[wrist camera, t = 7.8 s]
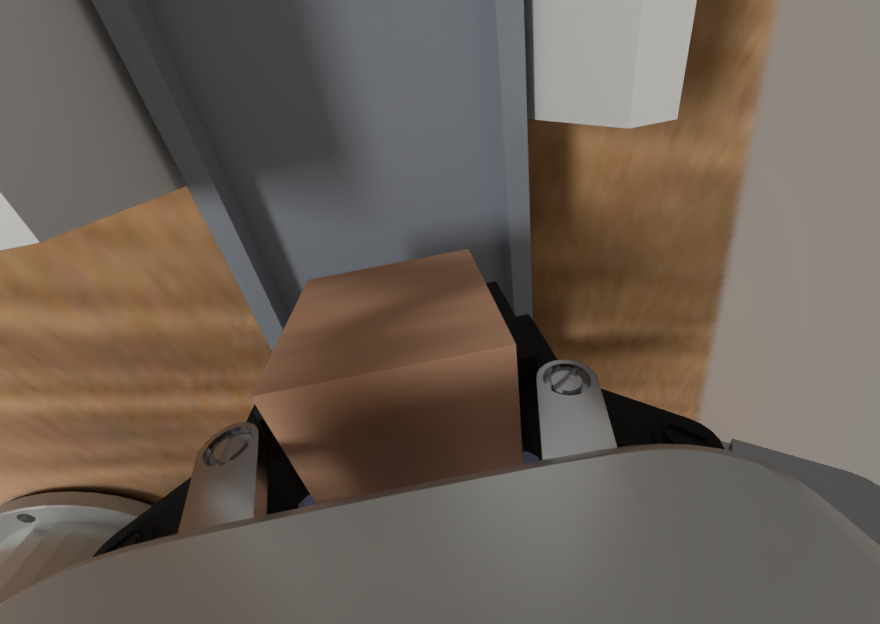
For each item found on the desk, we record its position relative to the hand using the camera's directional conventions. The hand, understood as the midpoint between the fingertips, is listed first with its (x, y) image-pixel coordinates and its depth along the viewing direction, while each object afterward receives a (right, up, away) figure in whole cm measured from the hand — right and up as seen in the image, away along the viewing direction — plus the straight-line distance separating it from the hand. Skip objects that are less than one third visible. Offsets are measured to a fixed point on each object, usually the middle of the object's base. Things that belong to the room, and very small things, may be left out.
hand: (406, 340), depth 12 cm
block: (0, 0, 0) cm, 1 cm away
